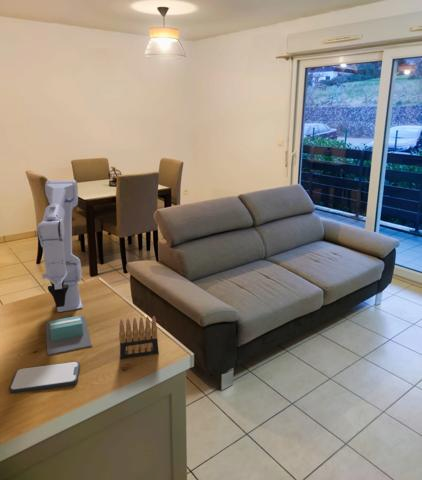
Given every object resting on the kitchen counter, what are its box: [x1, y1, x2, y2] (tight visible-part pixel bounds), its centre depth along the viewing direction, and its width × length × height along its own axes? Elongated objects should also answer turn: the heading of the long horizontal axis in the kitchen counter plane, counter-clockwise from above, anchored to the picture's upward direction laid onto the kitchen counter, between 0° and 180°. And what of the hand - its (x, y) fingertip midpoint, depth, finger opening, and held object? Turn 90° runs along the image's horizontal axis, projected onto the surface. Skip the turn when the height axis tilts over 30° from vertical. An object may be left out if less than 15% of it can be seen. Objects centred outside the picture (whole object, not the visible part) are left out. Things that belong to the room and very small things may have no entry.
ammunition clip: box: [118, 315, 160, 360], centre depth 108 cm, size 11×2×12 cm, turn 105°
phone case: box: [8, 361, 81, 394], centre depth 99 cm, size 9×2×16 cm
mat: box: [45, 315, 92, 356], centre depth 118 cm, size 18×12×1 cm, turn 24°
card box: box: [48, 315, 83, 341], centre depth 118 cm, size 9×5×4 cm, turn 113°
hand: (59, 300), depth 119 cm, fingers open, 7 cm apart
